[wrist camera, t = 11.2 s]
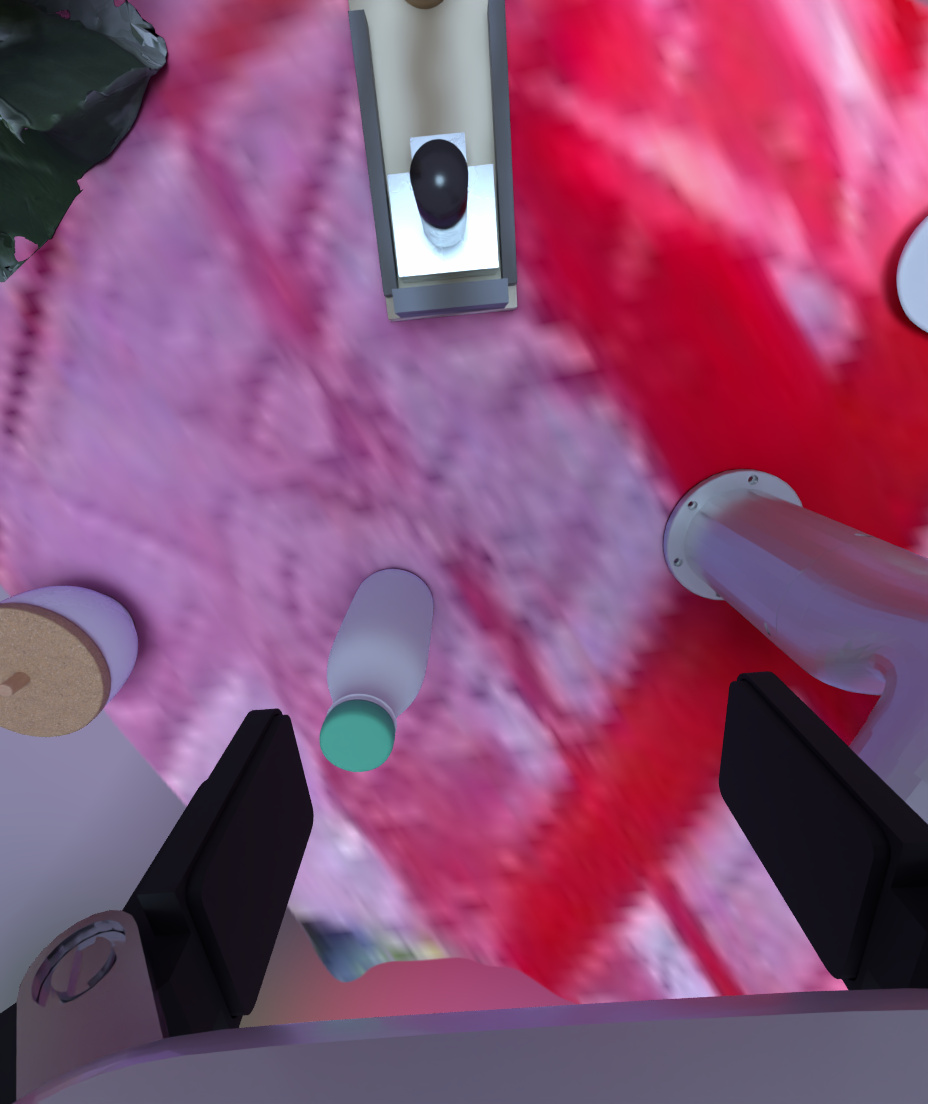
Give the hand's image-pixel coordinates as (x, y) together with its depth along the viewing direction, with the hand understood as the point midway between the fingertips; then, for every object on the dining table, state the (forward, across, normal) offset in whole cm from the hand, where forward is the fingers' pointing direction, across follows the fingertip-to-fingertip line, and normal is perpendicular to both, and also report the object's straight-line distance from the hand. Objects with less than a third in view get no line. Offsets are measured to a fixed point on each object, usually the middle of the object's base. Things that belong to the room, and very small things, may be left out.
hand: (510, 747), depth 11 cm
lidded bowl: (+36, +39, +13) cm, 55 cm away
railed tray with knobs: (+36, +1, -24) cm, 44 cm away
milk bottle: (+36, +9, +14) cm, 40 cm away
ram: (+34, +1, -18) cm, 38 cm away
